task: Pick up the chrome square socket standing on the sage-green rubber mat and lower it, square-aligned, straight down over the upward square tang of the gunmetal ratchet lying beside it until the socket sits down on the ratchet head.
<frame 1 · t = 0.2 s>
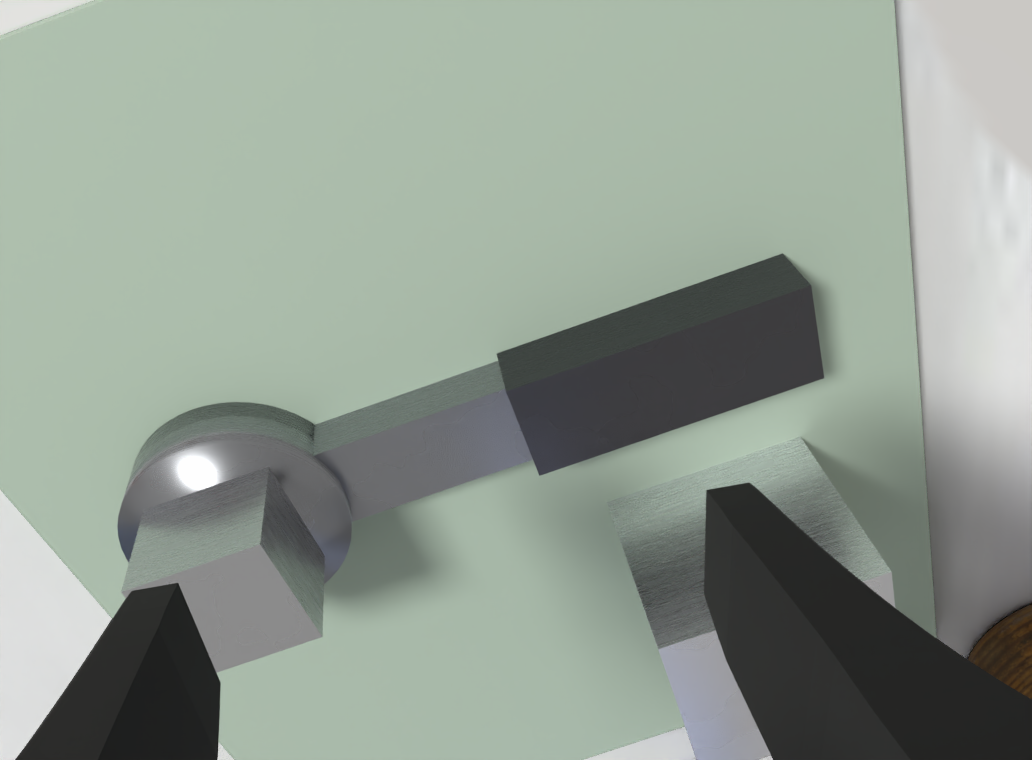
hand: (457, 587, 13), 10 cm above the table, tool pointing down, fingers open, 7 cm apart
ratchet: (243, 489, 23), point 1 cm above the table, touching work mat
socket: (720, 538, 26), point 1 cm above the table, touching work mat
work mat: (496, 454, 24), on the table
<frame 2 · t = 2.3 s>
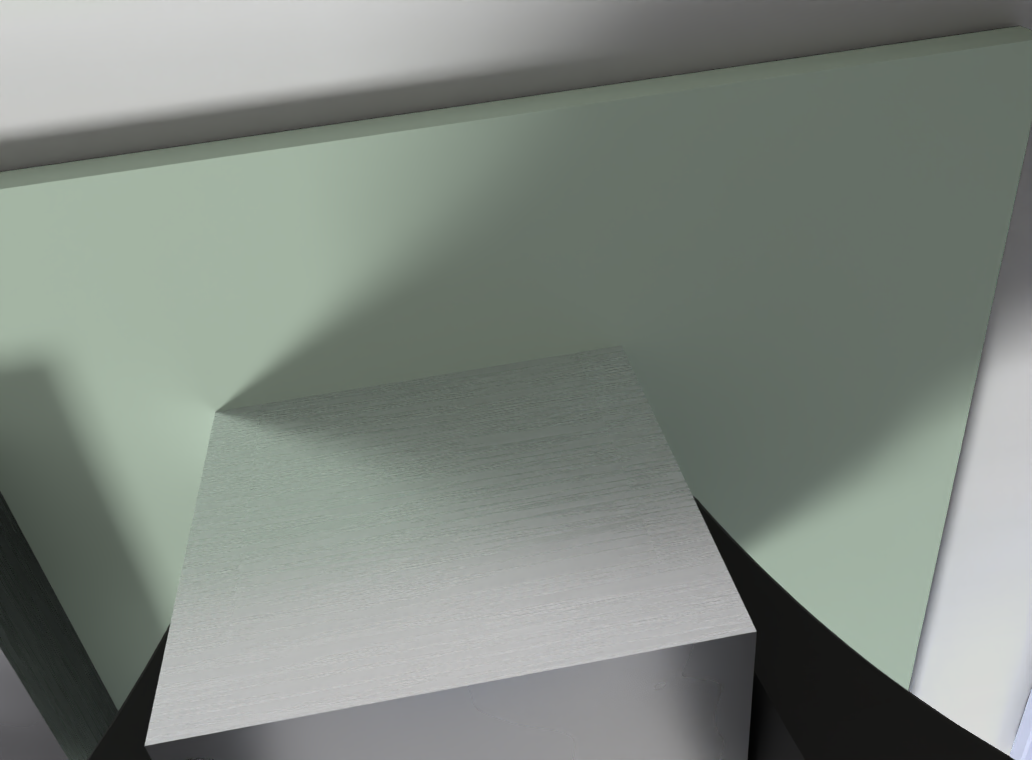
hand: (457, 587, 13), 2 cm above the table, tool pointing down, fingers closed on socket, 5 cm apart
socket: (449, 528, 14), point 1 cm above the table, touching gripper, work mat
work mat: (209, 759, 17), on the table
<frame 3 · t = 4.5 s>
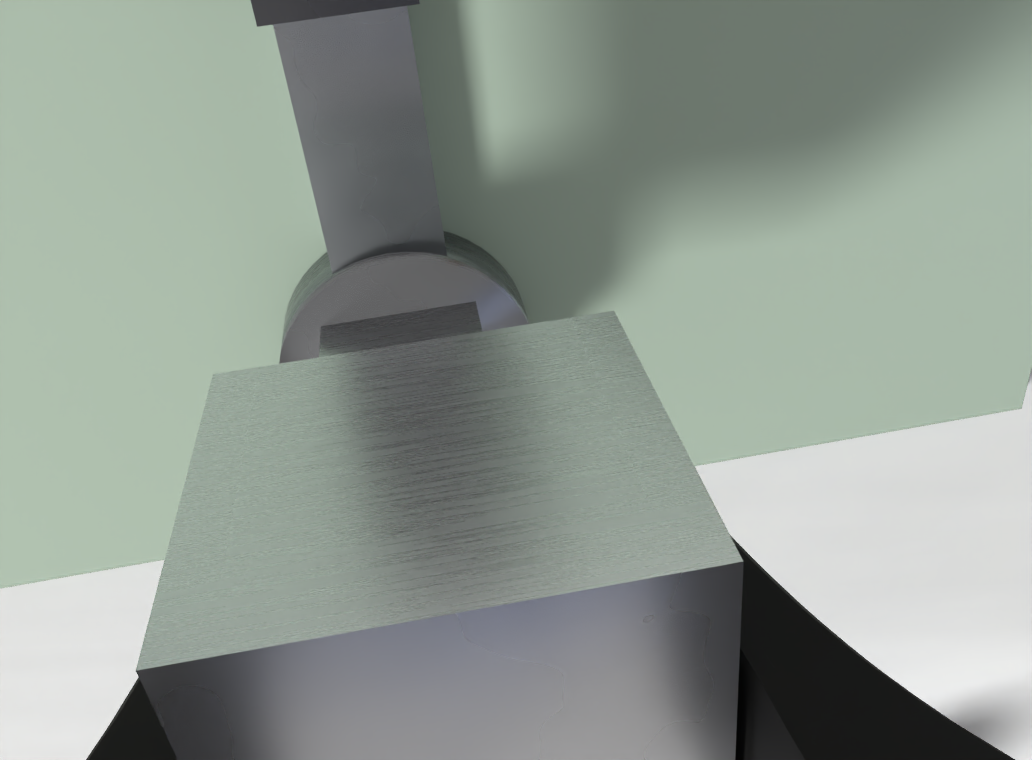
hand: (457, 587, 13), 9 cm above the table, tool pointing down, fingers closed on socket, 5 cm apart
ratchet: (407, 337, 20), point 1 cm above the table, touching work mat
socket: (444, 498, 14), point 7 cm above the table, touching gripper
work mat: (458, 30, 17), on the table
when the fingers open (4 cm above the table, at t = 7.0 s): socket stays where it is, resting on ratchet.
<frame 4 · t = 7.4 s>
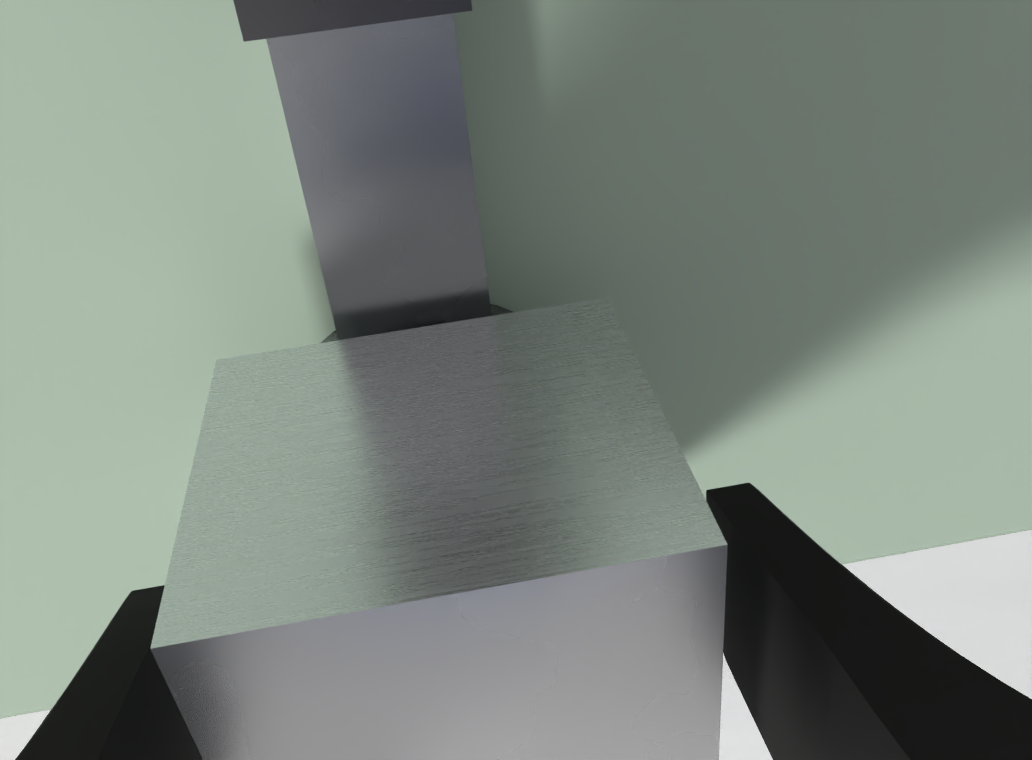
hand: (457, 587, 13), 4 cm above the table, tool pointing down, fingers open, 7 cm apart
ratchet: (437, 433, 16), point 1 cm above the table, touching socket, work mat
socket: (442, 478, 14), point 2 cm above the table, touching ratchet
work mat: (513, 45, 13), on the table
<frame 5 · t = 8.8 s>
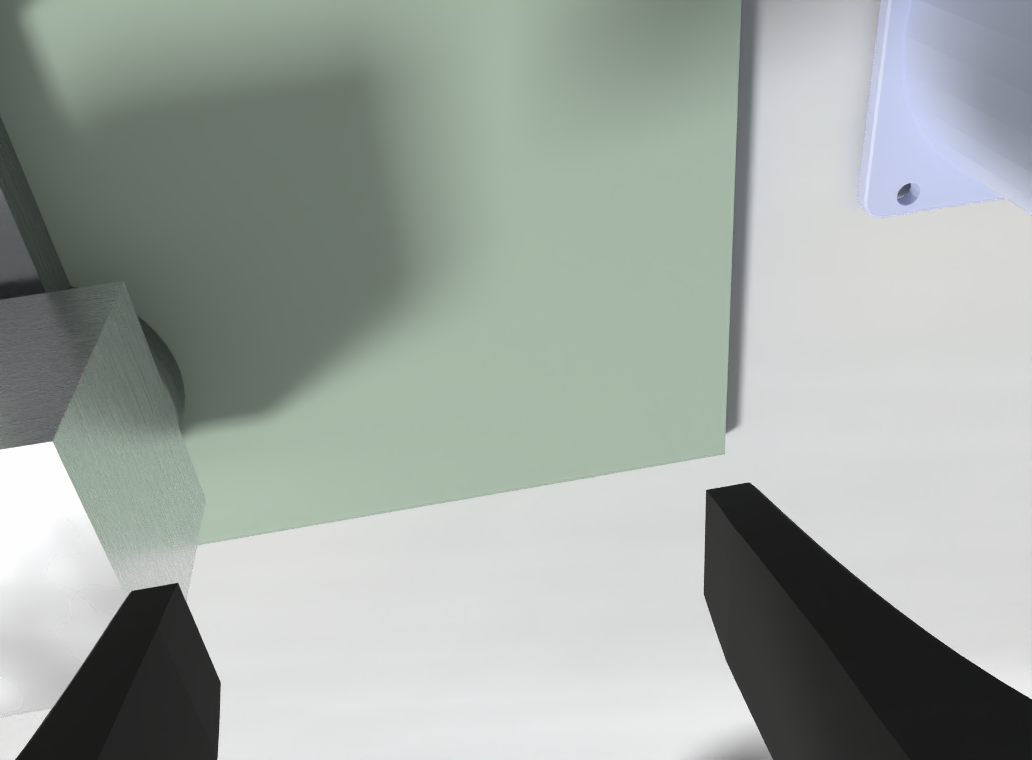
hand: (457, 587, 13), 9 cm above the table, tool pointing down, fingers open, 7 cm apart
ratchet: (58, 389, 20), point 1 cm above the table, touching socket, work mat
socket: (31, 421, 19), point 2 cm above the table, touching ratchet
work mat: (56, 91, 17), on the table
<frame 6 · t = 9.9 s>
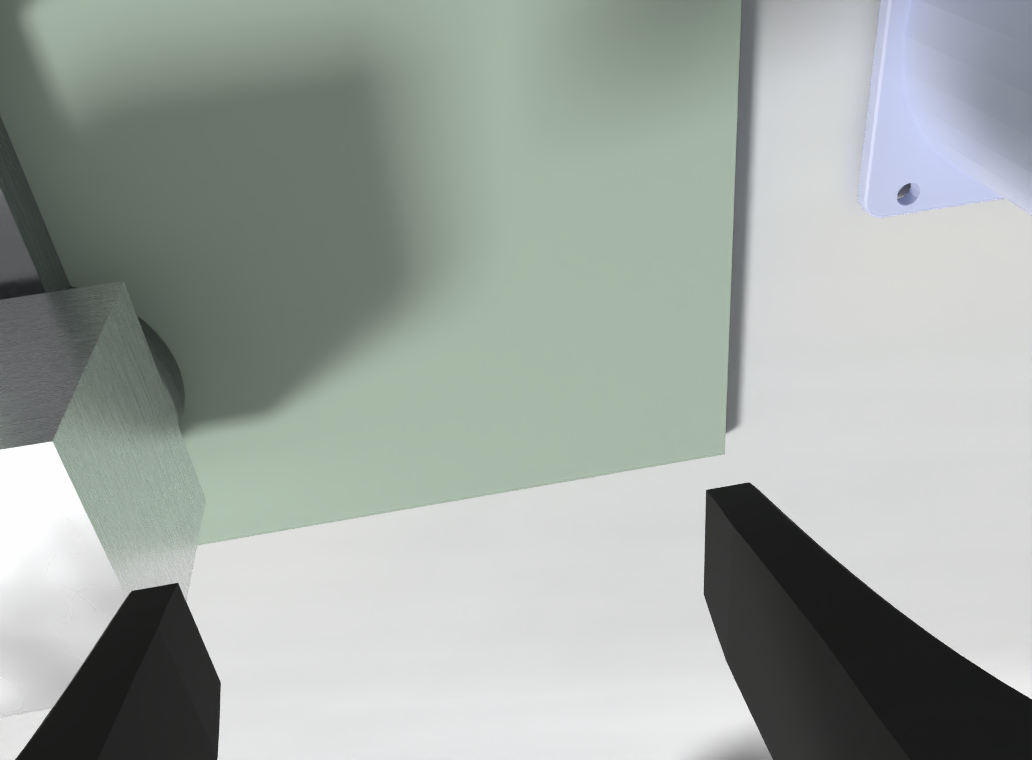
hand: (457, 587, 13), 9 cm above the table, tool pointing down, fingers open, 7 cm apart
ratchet: (58, 389, 20), point 1 cm above the table, touching socket, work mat
socket: (31, 421, 19), point 2 cm above the table, touching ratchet
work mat: (56, 91, 17), on the table
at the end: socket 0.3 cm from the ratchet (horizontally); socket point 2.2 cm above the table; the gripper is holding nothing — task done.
